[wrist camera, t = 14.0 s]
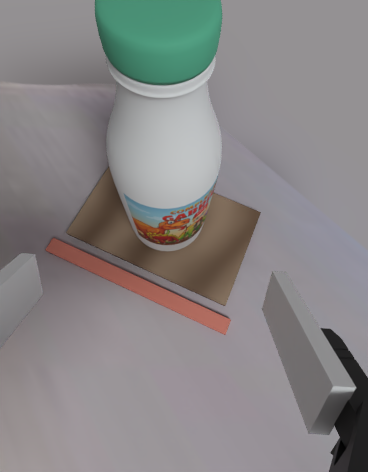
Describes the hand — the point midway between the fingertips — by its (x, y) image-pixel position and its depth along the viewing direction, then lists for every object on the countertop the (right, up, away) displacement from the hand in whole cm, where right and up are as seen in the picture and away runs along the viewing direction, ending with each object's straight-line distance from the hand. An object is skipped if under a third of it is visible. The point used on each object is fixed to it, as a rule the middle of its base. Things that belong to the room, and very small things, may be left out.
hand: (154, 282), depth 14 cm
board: (0, +4, +14) cm, 14 cm away
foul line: (-3, -2, +11) cm, 12 cm away
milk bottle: (0, +4, +13) cm, 14 cm away
